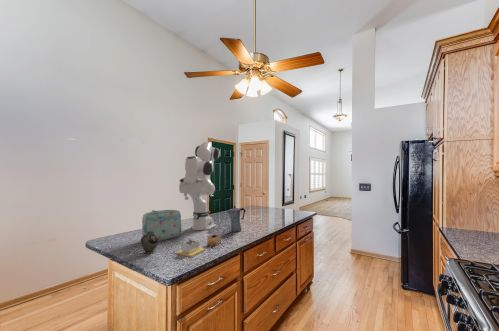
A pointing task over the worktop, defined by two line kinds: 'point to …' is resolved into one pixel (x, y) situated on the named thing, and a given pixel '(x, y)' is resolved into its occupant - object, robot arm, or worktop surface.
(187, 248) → the link
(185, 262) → the worktop surface
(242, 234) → the worktop surface
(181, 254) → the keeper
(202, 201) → the robot arm
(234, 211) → the moka pot
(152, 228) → the lunch box
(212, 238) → the brown rounded piece
